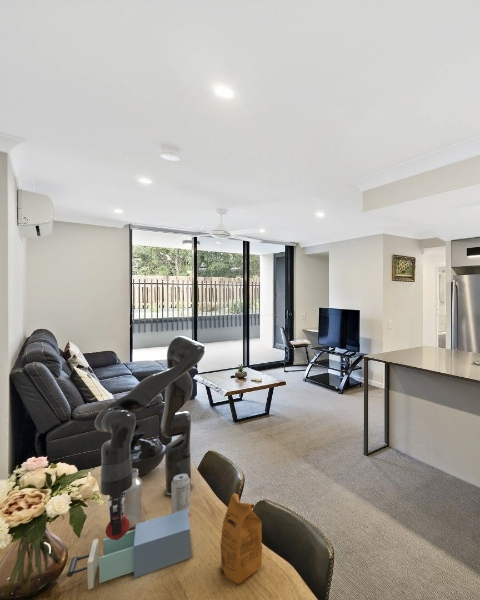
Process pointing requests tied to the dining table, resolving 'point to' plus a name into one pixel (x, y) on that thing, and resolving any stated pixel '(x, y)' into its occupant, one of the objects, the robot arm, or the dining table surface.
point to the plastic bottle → (134, 501)
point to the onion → (124, 527)
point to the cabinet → (161, 542)
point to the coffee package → (240, 541)
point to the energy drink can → (180, 493)
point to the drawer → (108, 559)
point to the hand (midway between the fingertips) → (117, 528)
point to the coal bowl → (146, 453)
